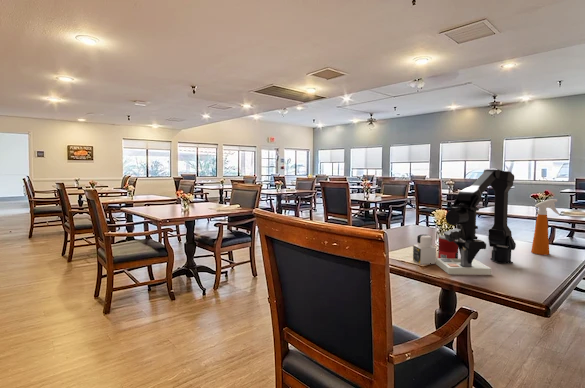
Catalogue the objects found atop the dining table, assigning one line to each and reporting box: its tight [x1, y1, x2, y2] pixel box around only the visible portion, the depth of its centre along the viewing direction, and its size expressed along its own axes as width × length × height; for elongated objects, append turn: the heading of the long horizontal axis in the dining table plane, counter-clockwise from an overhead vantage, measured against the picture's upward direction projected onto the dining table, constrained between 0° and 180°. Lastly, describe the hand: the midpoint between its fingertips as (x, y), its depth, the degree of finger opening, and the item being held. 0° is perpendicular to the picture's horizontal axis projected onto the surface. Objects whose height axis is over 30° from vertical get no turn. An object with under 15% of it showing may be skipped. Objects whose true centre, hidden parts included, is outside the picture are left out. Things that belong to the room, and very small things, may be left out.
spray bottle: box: [531, 198, 561, 256], centre depth 161 cm, size 7×11×26 cm, turn 72°
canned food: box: [437, 234, 459, 259], centre depth 150 cm, size 8×8×11 cm
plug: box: [460, 247, 472, 267], centre depth 134 cm, size 3×3×10 cm
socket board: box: [435, 257, 492, 276], centre depth 138 cm, size 16×14×3 cm
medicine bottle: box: [412, 233, 437, 265], centre depth 148 cm, size 7×7×12 cm
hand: (466, 261), depth 134 cm, fingers open, 5 cm apart
